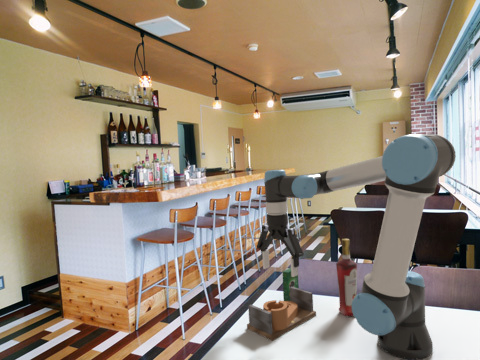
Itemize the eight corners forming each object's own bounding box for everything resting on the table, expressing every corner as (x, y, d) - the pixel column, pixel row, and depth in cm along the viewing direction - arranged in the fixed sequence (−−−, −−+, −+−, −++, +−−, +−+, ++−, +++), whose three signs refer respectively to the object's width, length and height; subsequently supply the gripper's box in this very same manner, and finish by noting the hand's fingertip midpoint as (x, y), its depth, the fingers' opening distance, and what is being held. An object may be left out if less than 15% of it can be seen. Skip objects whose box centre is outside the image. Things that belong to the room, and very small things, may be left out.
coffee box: (294, 295, 149) (292, 265, 149) (299, 297, 147) (298, 266, 147) (283, 302, 143) (281, 271, 143) (289, 304, 141) (287, 272, 141)
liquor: (347, 307, 135) (344, 236, 133) (363, 314, 129) (360, 239, 127) (334, 312, 131) (330, 239, 130) (349, 320, 125) (346, 243, 123)
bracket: (283, 332, 116) (281, 312, 116) (260, 327, 120) (259, 308, 120) (300, 309, 132) (299, 292, 131) (280, 306, 136) (279, 289, 135)
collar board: (316, 315, 130) (315, 293, 130) (271, 340, 114) (270, 315, 114) (291, 306, 139) (290, 285, 139) (247, 328, 123) (245, 305, 123)
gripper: (312, 214, 117) (314, 276, 119) (259, 209, 136) (262, 262, 137) (297, 218, 112) (301, 282, 114) (245, 212, 131) (248, 267, 132)
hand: (280, 271), depth 125 cm, fingers open, 13 cm apart
